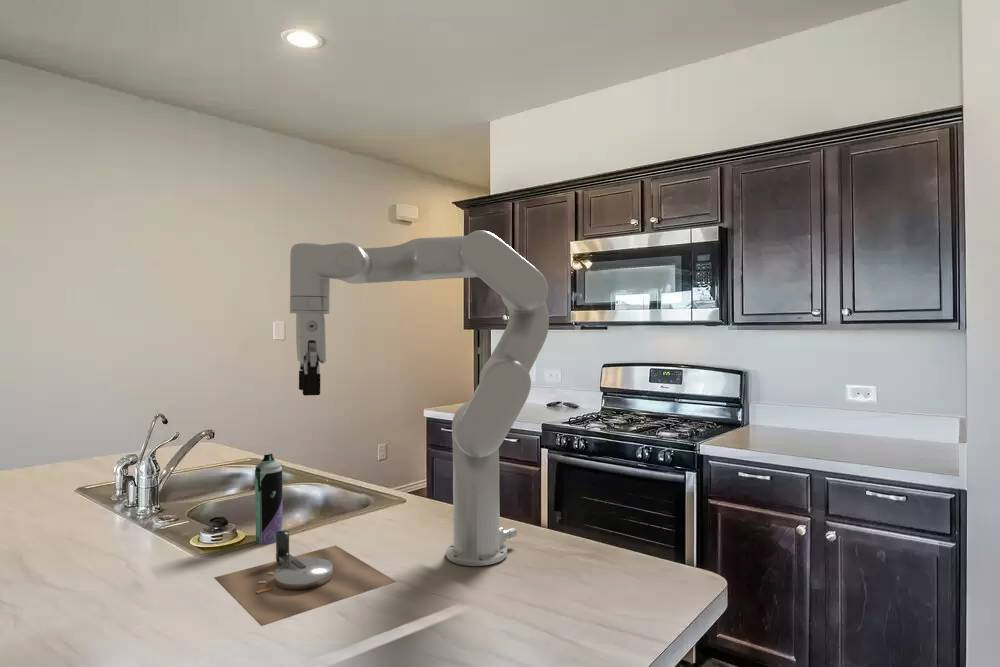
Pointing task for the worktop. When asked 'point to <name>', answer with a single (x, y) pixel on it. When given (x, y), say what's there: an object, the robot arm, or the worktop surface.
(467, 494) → the robot arm
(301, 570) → the dial
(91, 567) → the worktop surface
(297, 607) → the board
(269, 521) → the spray can
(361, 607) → the worktop surface
